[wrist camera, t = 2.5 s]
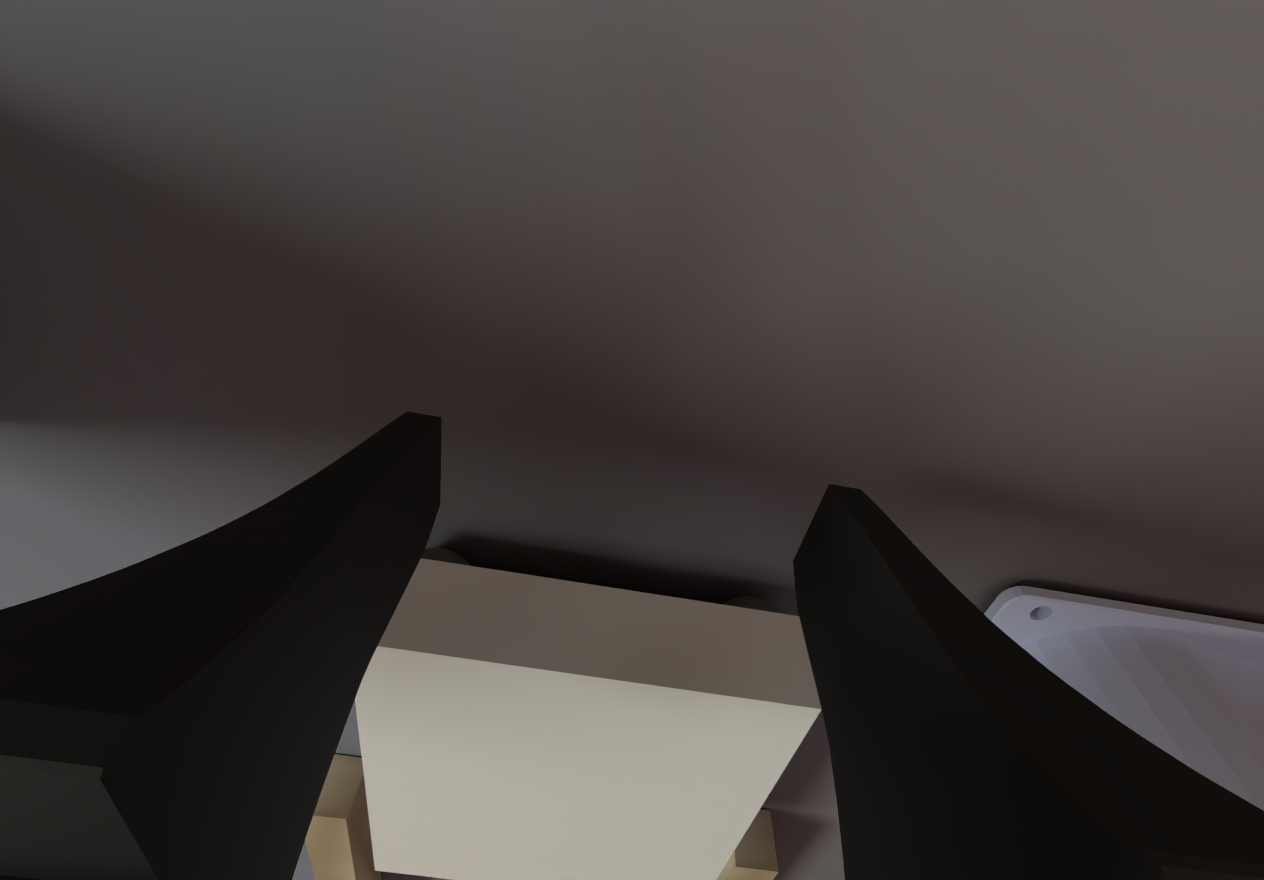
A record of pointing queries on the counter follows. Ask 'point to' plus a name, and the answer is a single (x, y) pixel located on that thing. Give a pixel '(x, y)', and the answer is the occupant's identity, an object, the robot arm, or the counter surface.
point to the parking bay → (351, 874)
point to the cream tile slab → (573, 727)
